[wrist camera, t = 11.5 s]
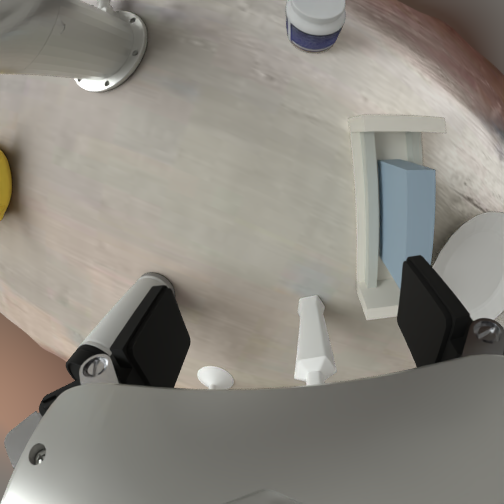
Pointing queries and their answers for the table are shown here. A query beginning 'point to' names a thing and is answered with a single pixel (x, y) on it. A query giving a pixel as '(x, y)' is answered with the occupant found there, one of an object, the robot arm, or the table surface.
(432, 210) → the door panel
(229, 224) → the table surface
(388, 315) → the track frame
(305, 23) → the pill bottle
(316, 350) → the perfume bottle
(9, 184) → the teapot
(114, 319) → the travel mug
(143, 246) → the table surface
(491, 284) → the plate
